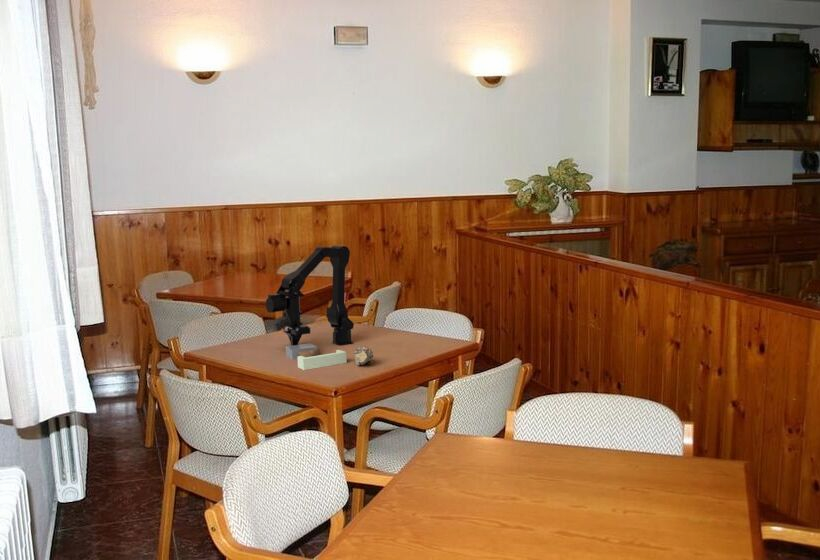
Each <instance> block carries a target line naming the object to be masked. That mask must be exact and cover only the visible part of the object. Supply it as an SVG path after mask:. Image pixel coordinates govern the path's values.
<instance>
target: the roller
mask: <svg viewBox="0 0 820 560" xmlns="http://www.w3.org/2000/svg"><path fill="white" fill-rule="evenodd" d="M318 355H322V352H321V350H320V349H319V348H317V349H316V350H310V351H303V352H298V356H303V357H305V358H306V357H312V356H318Z"/></svg>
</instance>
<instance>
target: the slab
mask: <svg viewBox="0 0 820 560" xmlns="http://www.w3.org/2000/svg"><path fill="white" fill-rule="evenodd" d="M316 349H318V346H316V345H315V344H313V343H309V342H308V343H304V344H303V343H302V344H298V345H293V346H291V345H287V346H285V356H286V357H287V358H288V359H290V360H298V359H297V356H298V352H303V351H310V350H316Z"/></svg>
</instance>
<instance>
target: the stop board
mask: <svg viewBox="0 0 820 560" xmlns="http://www.w3.org/2000/svg"><path fill="white" fill-rule="evenodd" d="M296 360H297V368H299V369H301V370H302V371H306V370H312V369H317V368H318V369H319V368H325V367H330V366H337V365H341V364H347V362H348V361H347V360H348V359H347V351H344V350H342V349H337V350H335V352H332V353H326V354H321V355H318V356H312V357H306V358H305V357H303V356H297V359H296Z"/></svg>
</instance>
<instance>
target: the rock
mask: <svg viewBox="0 0 820 560" xmlns="http://www.w3.org/2000/svg"><path fill="white" fill-rule="evenodd" d="M353 357H354V362H355V364H356V366H357V367H358V366H363V365H365V364H368V365H370V364H372V362H373V358H374V353H373V351H372V349H371V348H369V347H367V346H366V345H359V346H358V347H357V349H355V350H353Z"/></svg>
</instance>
